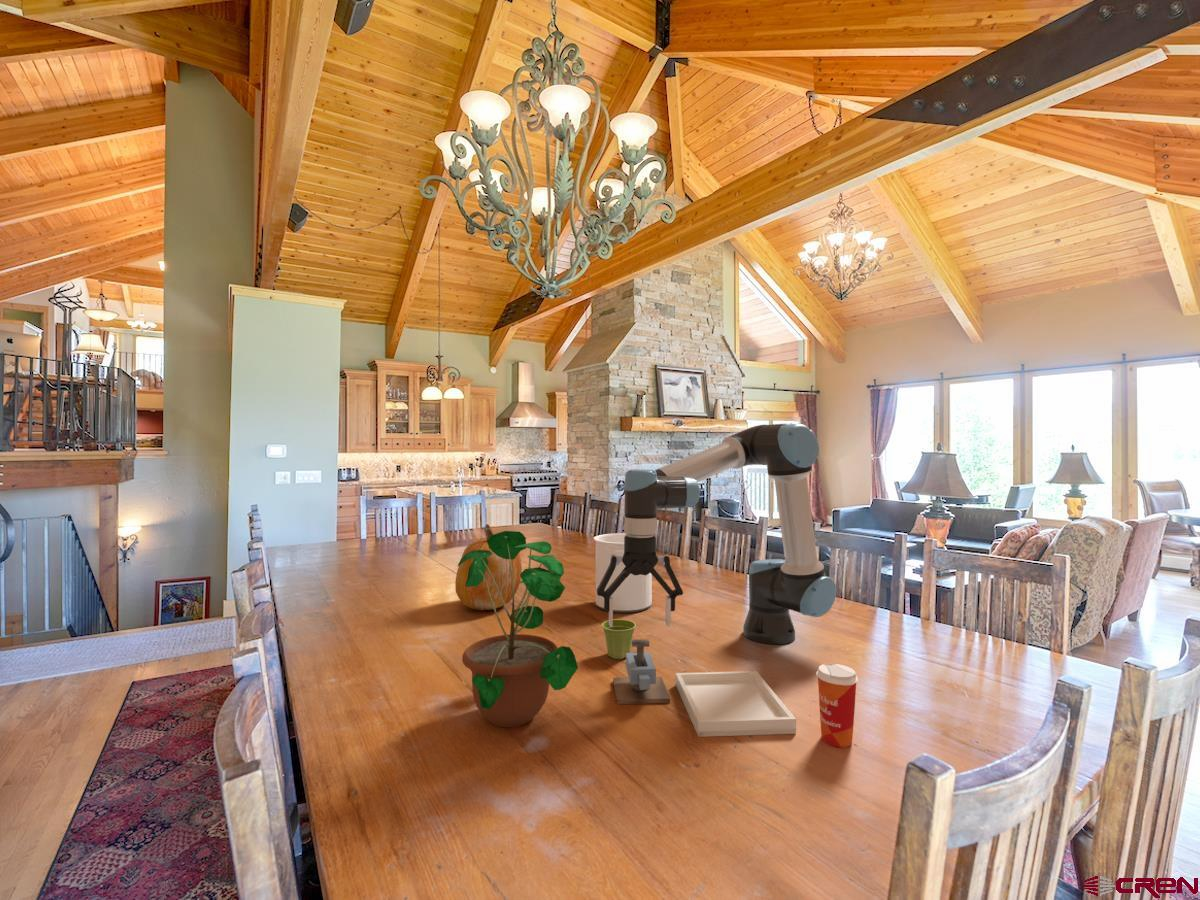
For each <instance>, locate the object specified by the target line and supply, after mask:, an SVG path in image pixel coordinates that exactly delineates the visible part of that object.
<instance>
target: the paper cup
mask: <svg viewBox="0 0 1200 900" xmlns="http://www.w3.org/2000/svg"><path fill="white" fill-rule="evenodd" d="M815 674H816V677H817V686H818V700H819V701H818V702H819V703H818V704H819V721H820V734H821V740H822V741H823V742H824V743H825V744H827V745H829V746H831V747H834V748H839V749H842V748H844V749H846V748H849V747H851V746H852V743H853V739H854V738H853V737H854V736H853V735H854V722H855V707H856V696H857V695H856V693H857V683H858V682H859V678H858V676H857V673H856V671H855V670H854V669H853V668H851V667H850V666H846V665H843V664H838V663H834V664H833V663H827V664H823V663H822V664H821V665H819V666H818V669H817V671H816V672H815Z"/></svg>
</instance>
